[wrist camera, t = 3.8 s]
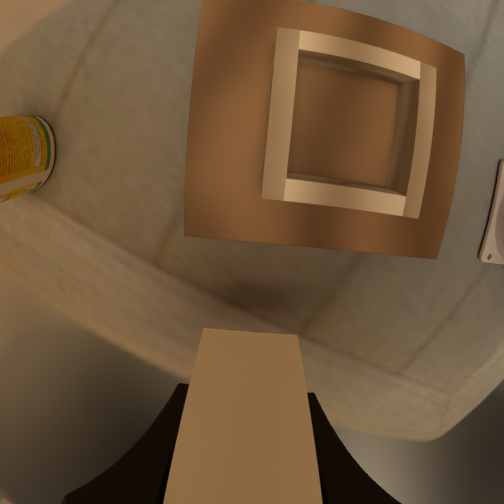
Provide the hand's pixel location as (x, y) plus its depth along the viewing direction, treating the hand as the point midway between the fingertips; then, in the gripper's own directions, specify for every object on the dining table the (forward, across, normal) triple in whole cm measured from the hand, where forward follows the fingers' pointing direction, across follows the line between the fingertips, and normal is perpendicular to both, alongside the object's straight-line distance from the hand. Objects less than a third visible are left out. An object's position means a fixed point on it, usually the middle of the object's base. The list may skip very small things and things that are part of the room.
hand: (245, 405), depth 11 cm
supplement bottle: (+9, +16, -9) cm, 20 cm away
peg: (+2, 0, 0) cm, 2 cm away
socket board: (+9, -4, -11) cm, 15 cm away
